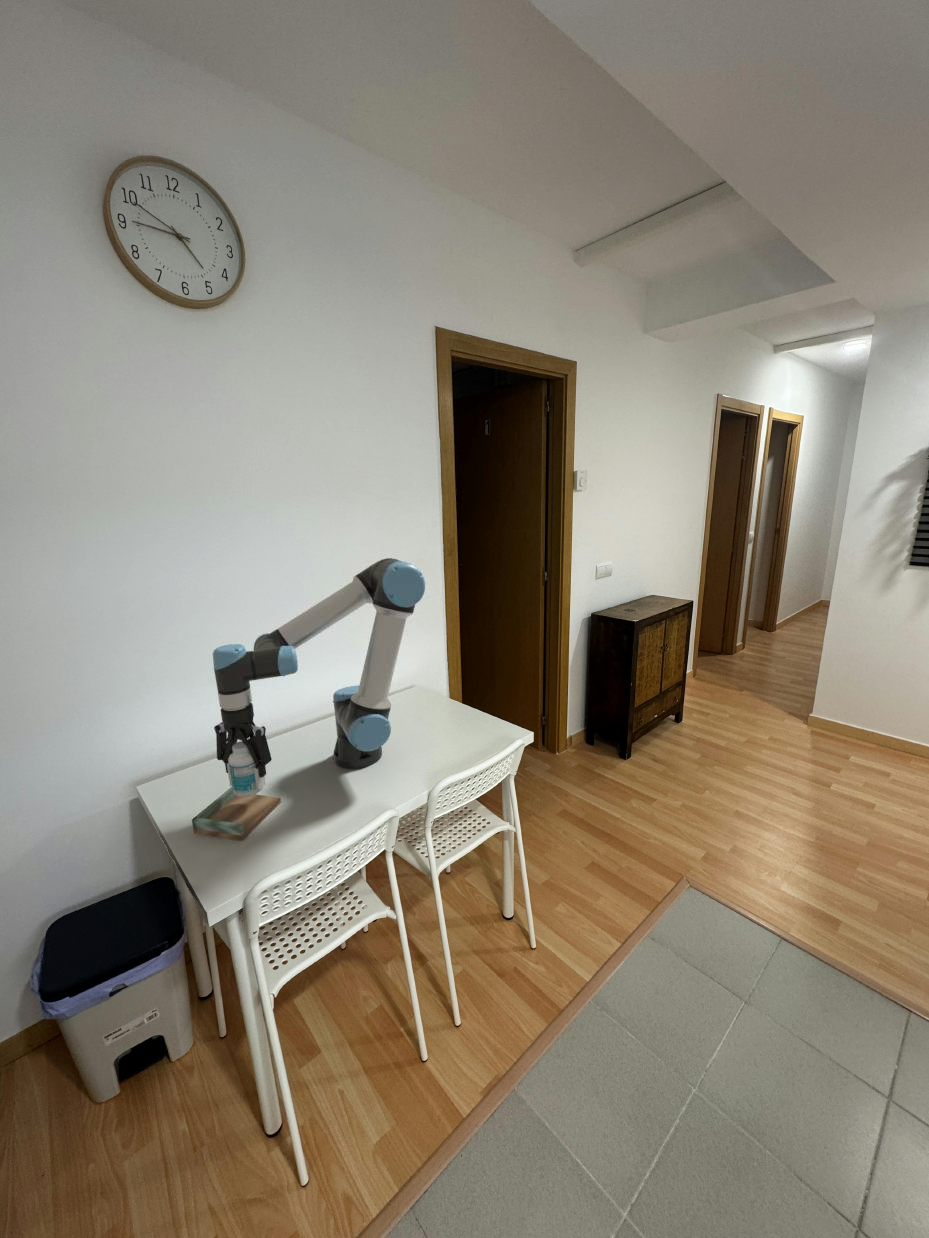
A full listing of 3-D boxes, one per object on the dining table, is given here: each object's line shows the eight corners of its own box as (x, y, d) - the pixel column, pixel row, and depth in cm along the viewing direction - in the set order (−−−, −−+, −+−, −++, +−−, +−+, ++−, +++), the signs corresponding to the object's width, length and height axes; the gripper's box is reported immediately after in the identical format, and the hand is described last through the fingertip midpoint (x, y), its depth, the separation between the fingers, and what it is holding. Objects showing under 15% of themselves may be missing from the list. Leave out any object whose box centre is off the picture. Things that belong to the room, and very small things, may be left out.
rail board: (281, 802, 136) (279, 789, 135) (242, 840, 121) (239, 826, 120) (237, 796, 140) (235, 783, 139) (194, 833, 125) (191, 819, 124)
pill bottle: (239, 783, 136) (232, 738, 133) (267, 782, 136) (261, 736, 133) (229, 799, 129) (221, 752, 125) (258, 797, 129) (251, 750, 126)
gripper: (280, 702, 128) (289, 781, 133) (213, 696, 133) (225, 773, 138) (261, 714, 121) (272, 798, 126) (191, 707, 126) (205, 788, 131)
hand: (247, 785), depth 132 cm, fingers closed on pill bottle, 7 cm apart
